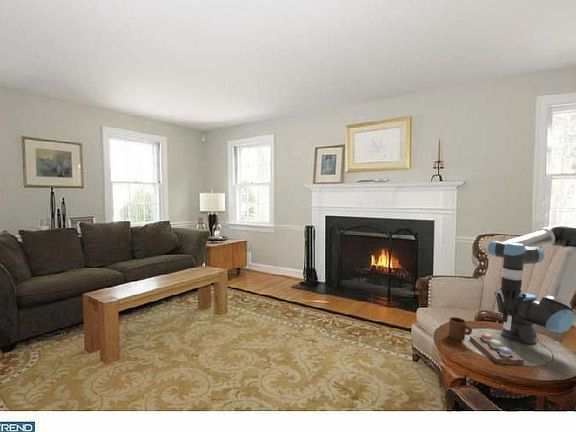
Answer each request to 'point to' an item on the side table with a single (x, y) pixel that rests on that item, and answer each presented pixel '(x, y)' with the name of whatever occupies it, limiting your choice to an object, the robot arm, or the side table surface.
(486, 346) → the button panel
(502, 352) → the blue button
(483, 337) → the terracotta button
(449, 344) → the side table surface
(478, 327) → the side table surface
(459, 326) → the mug
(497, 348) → the sage button
